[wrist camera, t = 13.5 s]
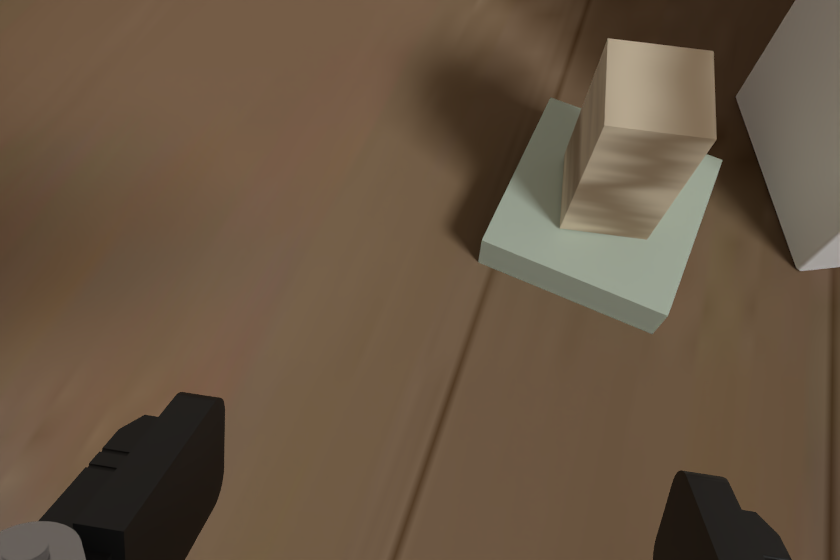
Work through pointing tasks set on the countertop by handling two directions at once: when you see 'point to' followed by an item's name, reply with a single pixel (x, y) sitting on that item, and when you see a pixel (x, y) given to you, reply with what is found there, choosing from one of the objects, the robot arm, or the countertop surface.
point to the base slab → (591, 235)
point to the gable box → (800, 129)
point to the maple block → (637, 137)
